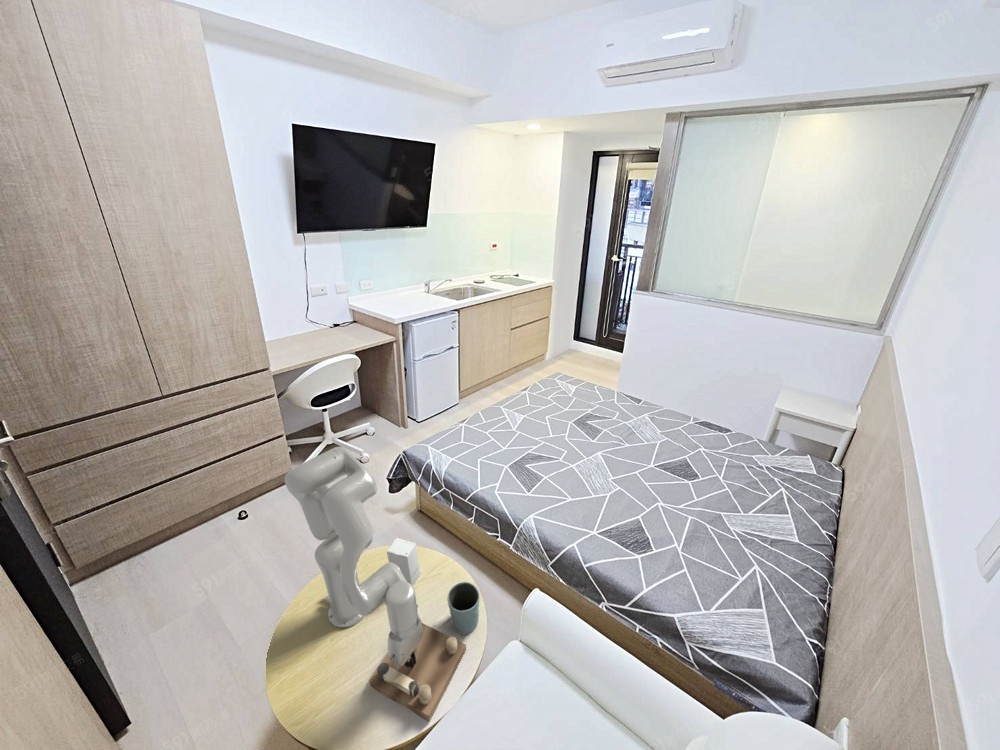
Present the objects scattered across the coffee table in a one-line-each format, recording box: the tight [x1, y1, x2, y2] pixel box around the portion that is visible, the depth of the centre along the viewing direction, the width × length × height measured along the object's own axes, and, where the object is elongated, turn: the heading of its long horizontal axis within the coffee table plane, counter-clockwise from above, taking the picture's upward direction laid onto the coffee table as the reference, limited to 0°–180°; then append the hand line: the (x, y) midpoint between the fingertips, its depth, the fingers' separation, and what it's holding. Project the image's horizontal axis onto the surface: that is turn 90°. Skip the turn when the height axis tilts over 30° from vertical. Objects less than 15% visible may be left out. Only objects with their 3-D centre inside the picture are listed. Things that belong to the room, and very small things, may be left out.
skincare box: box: [386, 537, 421, 587], centre depth 142 cm, size 8×7×16 cm
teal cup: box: [446, 581, 480, 634], centre depth 129 cm, size 10×10×12 cm
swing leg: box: [376, 662, 419, 697], centre depth 112 cm, size 13×3×3 cm, turn 65°
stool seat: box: [368, 622, 467, 723], centre depth 117 cm, size 20×20×6 cm
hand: (410, 663), depth 116 cm, fingers closed
